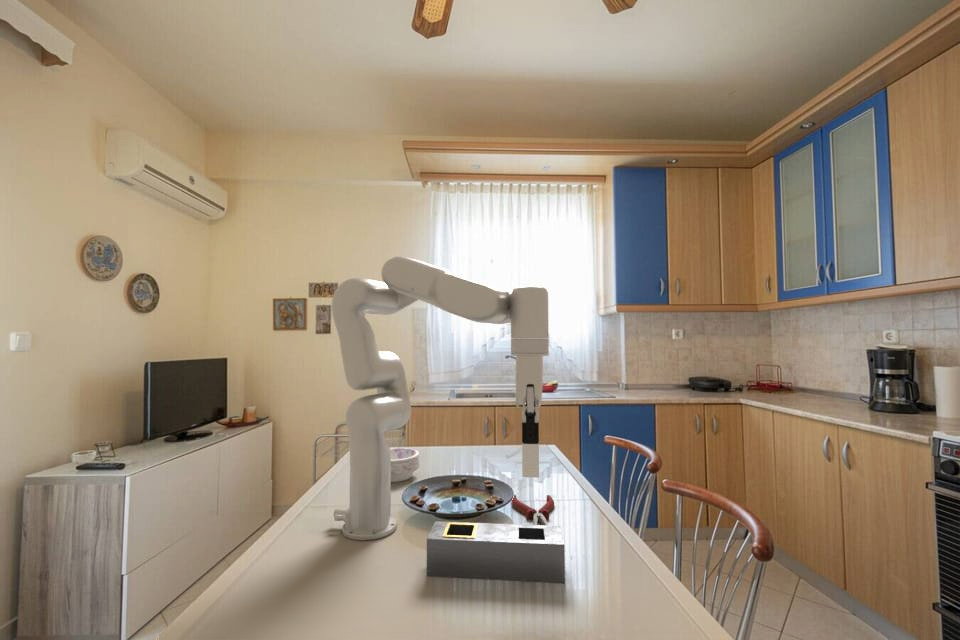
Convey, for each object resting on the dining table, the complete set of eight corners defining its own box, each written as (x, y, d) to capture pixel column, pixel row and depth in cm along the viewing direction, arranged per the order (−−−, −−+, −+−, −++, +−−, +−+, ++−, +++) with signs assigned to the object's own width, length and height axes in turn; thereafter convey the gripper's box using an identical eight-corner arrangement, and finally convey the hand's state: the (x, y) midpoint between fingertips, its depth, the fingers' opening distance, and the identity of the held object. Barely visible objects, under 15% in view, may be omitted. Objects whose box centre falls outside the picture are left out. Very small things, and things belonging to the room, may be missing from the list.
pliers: (517, 535, 100) (518, 523, 100) (510, 502, 120) (510, 493, 120) (567, 535, 100) (567, 523, 101) (551, 503, 120) (551, 493, 121)
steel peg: (522, 477, 84) (522, 409, 84) (522, 472, 87) (522, 406, 87) (539, 477, 83) (538, 409, 84) (538, 472, 87) (538, 407, 87)
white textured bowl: (362, 483, 136) (363, 457, 136) (386, 469, 151) (387, 446, 151) (406, 487, 132) (406, 461, 132) (427, 472, 146) (427, 449, 147)
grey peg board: (426, 576, 82) (426, 537, 83) (435, 555, 90) (435, 520, 91) (564, 583, 80) (564, 543, 80) (561, 561, 88) (560, 525, 88)
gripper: (511, 347, 95) (512, 432, 94) (509, 349, 78) (510, 451, 78) (546, 347, 94) (547, 432, 93) (551, 349, 78) (552, 452, 77)
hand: (530, 440), depth 85 cm, fingers closed on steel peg, 3 cm apart
